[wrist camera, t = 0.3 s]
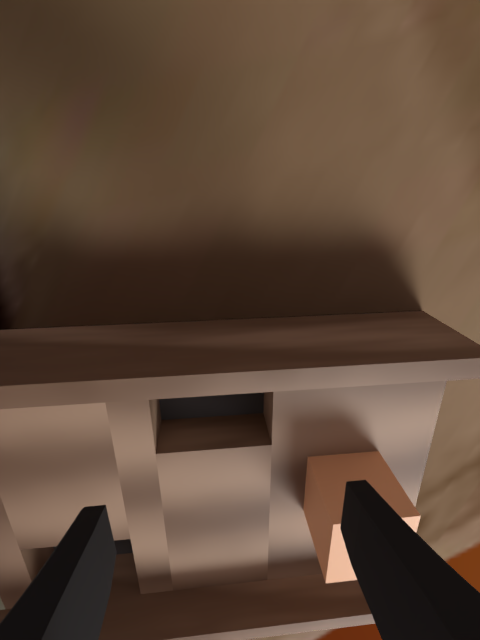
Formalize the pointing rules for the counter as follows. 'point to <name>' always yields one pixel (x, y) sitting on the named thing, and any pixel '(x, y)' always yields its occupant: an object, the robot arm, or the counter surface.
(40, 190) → the counter surface
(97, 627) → the robot arm
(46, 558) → the open tray box
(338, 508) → the terracotta block
